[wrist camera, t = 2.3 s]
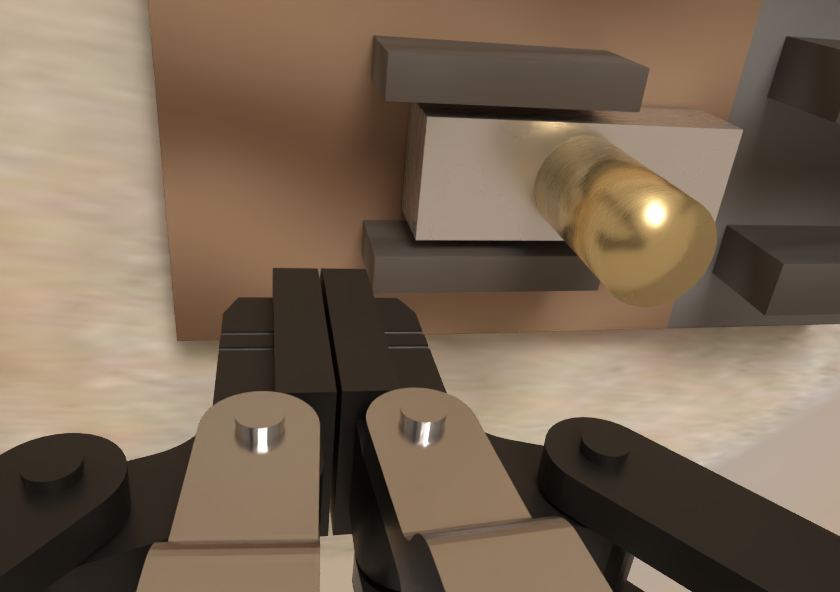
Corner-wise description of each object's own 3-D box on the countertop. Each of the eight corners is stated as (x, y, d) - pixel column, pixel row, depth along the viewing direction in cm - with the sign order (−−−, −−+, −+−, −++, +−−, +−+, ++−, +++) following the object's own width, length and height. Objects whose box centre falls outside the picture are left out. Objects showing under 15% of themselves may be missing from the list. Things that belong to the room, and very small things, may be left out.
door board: (148, -116, 16) (114, -122, 12) (956, -32, 20) (1107, -19, 17) (182, 313, 21) (165, 399, 17) (821, 302, 25) (913, 368, 22)
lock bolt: (411, 95, 17) (472, 175, 12) (699, 109, 19) (861, 184, 14) (402, 209, 19) (453, 323, 14) (671, 213, 21) (809, 316, 15)
